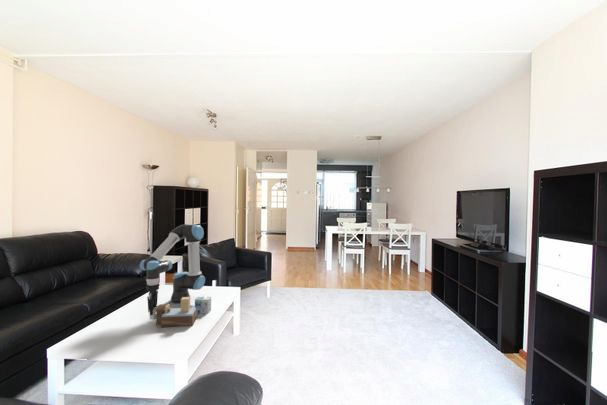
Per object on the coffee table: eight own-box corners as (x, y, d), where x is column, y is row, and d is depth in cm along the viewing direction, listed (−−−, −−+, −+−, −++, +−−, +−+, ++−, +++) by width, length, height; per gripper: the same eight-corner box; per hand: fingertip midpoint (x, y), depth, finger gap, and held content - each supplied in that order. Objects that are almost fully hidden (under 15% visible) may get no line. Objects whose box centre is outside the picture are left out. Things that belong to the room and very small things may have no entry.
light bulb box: (194, 313, 218) (194, 299, 218) (197, 309, 225) (197, 296, 225) (208, 313, 218) (208, 299, 218) (211, 310, 224) (211, 296, 224)
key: (149, 311, 199) (149, 308, 199) (170, 310, 201) (170, 307, 201) (148, 312, 197) (148, 309, 197) (169, 311, 199) (169, 308, 199)
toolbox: (161, 320, 205) (161, 302, 205) (196, 318, 208) (196, 301, 208) (154, 327, 193) (154, 309, 193) (192, 326, 196) (192, 308, 196)
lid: (167, 310, 205) (167, 296, 205) (196, 309, 208) (196, 295, 208) (161, 317, 194) (161, 301, 193) (191, 315, 196) (192, 300, 196)
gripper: (151, 280, 205) (151, 313, 205) (142, 287, 190) (142, 323, 190) (162, 280, 206) (162, 313, 206) (154, 287, 191) (154, 322, 191)
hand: (152, 318), depth 198 cm, fingers closed on key, 2 cm apart
